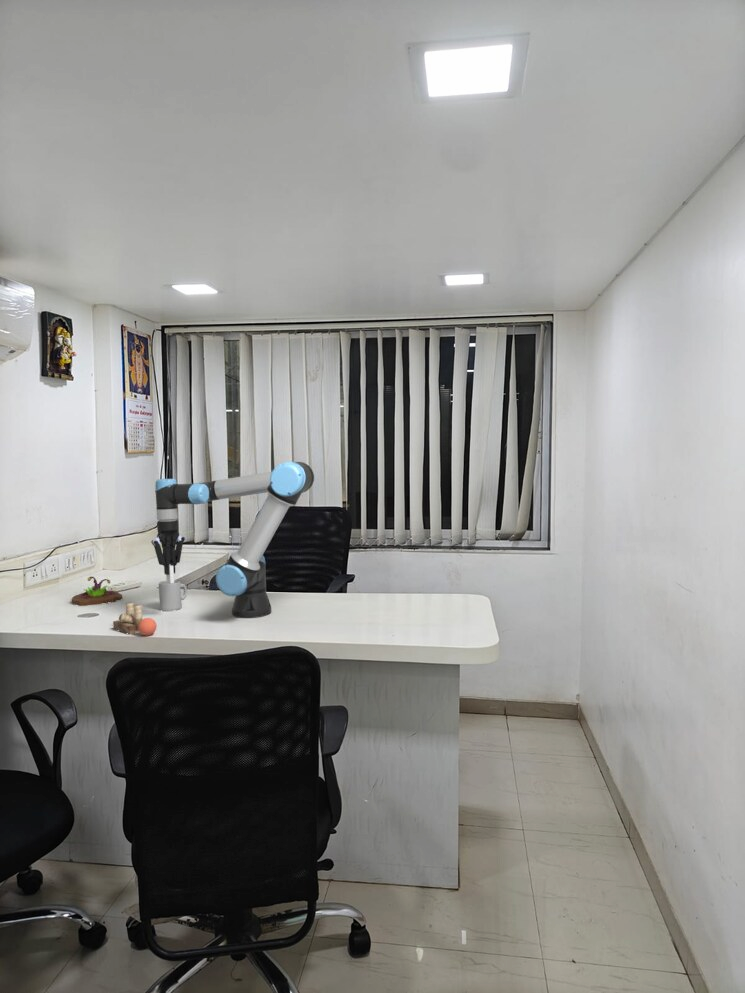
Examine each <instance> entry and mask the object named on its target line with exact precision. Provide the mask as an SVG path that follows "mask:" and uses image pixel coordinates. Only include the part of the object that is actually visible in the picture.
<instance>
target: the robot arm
mask: <svg viewBox="0 0 745 993" xmlns="http://www.w3.org/2000/svg"><path fill="white" fill-rule="evenodd" d="M314 481H315V474H314V470H313V468H312V467H311V466H310V465H308V464H307V463H305V462H302V461H284V462H282V463H281V464H278V465H277V466H275V468H273V469H272V470H271V471H268V472H261V473H255V474H250V475H241V476H236V477H229V478H224V479H218V480H210V481H204V482H203V481H202V482H196V483H177V480H176V478H159V479H157V480H155V484H154V485H155V486H154V487H155V491H154V493H155V504H156V520H157V521H156V530H157V535H156V538H155V539H154V540H153V539H152V540H151V541H150V542H151V544H152V546H153V548H154V551H155V555H156V558H157V562H158V565H161V566H163V568H164V569H163V570H164V571H163V572H164V575H165V576H166V581H167V583H174V580H175V576H174V575H175V574H176V566H177V565H178V563H179V564H180V562H181V557H182V550H183V544H184V542H185V539H186V538H185V537H184V536H182V535H180V533H179V521H178V518H179V513H178V512H179V511H178V505H202V504H206V503H207V502H213V501H219V500H225V499H226V500H227V499H233V498H239V497H247V496H253V495H260V494H266V493H267V497H266V498H265V499H264V502H263V505H262V506H261V508H260V510H259V511H258V513H257V515H256V517H255V519H254V521H253V522H252V524H251V527H250V528H249V530H248V531H247V533H246V536H245V537H244V539H243V541H242V542H241V545H240V546H239V548H238V549H237V551H234V552H231V554H230V556H229V557H228V560H227V562H225V565H223V566H221V567H220V569H218V570H217V572H216V575H215V584H216V586H217V588H218V590H219V591H220V592H221V593H222V594H224V595H225V596H228V597H234V602H233V605H232V608H231V615H232V616H233V617H236V618H240V619H241V618H245V619H249V618H258V617H260V618H261V617H264V616H268V615H270V614H272V604H271V602H270V599H269V596H268V594H267V579H266V578H267V575H266V564H267V563H266V559H265V556H264V553H265V551H266V550H267V548H268V546H269V544H270V543H271V541H272V539H273V537H274V535H275V534H276V531H277V530H278V528H279V526H280V524H281V523H282V521H283V519H284V518H285V515H286V514H287V512H288V510H289V508H290V507H293V506H295V505H296V504H297V503H298V501H299V499H300V498H301V496H302V494H303V493H306V492H307V491H309V490H310V489H311V488H312V486H313V485H314ZM160 544H161V545H160Z"/></svg>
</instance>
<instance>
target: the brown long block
mask: <svg viewBox="0 0 745 993" xmlns="http://www.w3.org/2000/svg"><path fill="white" fill-rule="evenodd" d="M112 624H113V625H112V627H113V630H114V629H116V630H119V631H122V632H121V633H123V632H125V633H124V634H126V633H128V634H127V635H129V634H132V635H135V633H137V631H136V630H135V625H133V624H129V623H126V622H123V621H120V620H119V619H118V620H113V621H112ZM116 630H115V631H116ZM119 631H118V632H119Z"/></svg>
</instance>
